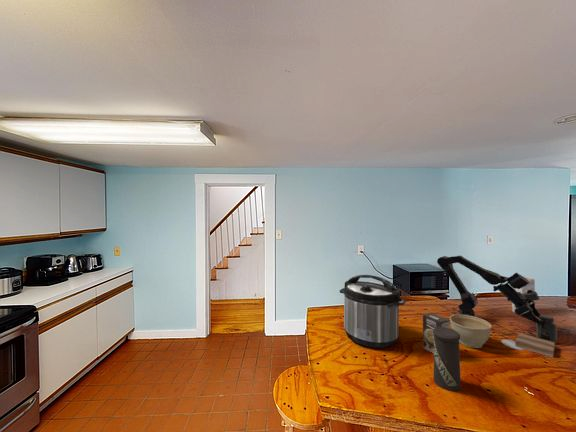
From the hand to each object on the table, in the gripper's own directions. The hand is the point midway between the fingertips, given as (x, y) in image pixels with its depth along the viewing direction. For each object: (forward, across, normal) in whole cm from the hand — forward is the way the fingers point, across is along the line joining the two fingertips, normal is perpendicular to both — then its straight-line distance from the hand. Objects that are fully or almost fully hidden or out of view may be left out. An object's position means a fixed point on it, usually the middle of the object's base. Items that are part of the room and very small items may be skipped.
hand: (541, 321), depth 119 cm
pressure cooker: (-35, -59, +48) cm, 84 cm away
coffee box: (-15, -50, +28) cm, 60 cm away
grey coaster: (+1, -16, +13) cm, 21 cm away
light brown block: (+5, -12, +8) cm, 15 cm away
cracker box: (-1, +39, +14) cm, 42 cm away
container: (-8, -70, +21) cm, 74 cm away
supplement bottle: (+8, 0, +6) cm, 10 cm away
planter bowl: (-9, -30, +22) cm, 39 cm away
